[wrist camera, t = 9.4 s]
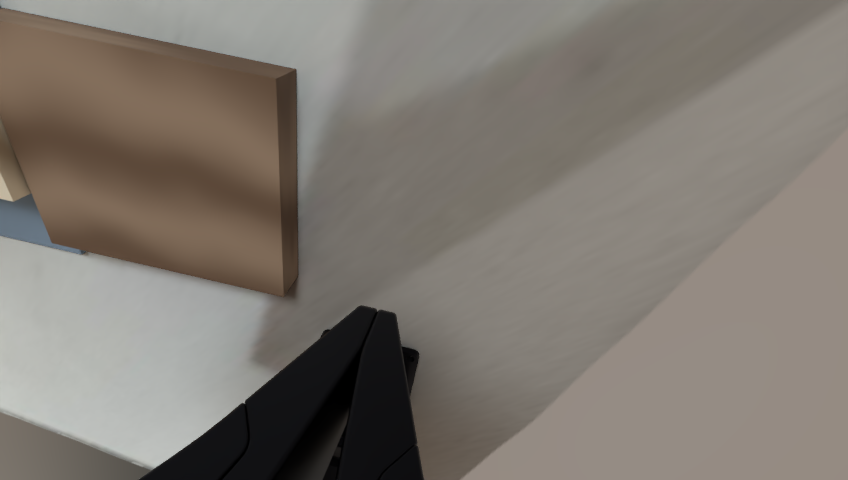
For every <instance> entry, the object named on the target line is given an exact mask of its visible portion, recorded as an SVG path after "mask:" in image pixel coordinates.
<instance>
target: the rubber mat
mask: <svg viewBox="0 0 848 480" xmlns="http://www.w3.org/2000/svg"><path fill="white" fill-rule="evenodd" d="M0 9H1V8H0ZM0 236H5V237H9V238H13V239H17V240H22V241H26V242H30V243H35V244H39V245H43V246H48V247H52V248H56V249H60V250H65V251H69V252H73V253H78V254H83V253H85V252H86V251H83V250H79V249H75V248H70V247H66V246H62V245H58V244H53V243H52V242H51V240H50V237H49V235H48V233H47V230H46V228H45V225H44V223H43V220H42V218H41V215H40V213H39V211H38V208H37V206H36V203H35V201H34V198H33V196H32V193H31V194H29V195H27V196H25V197H22V198H20V199H18V200H16V201H14V202H12V201H8V200H4V199H0Z"/></svg>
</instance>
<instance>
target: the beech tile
mask: <svg viewBox="0 0 848 480" xmlns="http://www.w3.org/2000/svg"><path fill="white" fill-rule="evenodd" d="M29 194H31V191H30V189H29V186H28V184H27V181H26V179H25V176H24V174H23V171H22V169H21V167H20V164H19V162H18V159H17V157H16V154H15V152H14V149H13V147H12V144H11V142H10V140H9V137H8V135H7V132H6V130H5V127H4V125H3V122H2V120H1V118H0V199H4V200H8V201H12V202H14V201H16V200H18V199H20V198H22V197H25V196H27V195H29Z"/></svg>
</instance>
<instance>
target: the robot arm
mask: <svg viewBox="0 0 848 480" xmlns="http://www.w3.org/2000/svg"><path fill="white" fill-rule="evenodd" d="M410 356H412V357H410ZM418 359H419V353H418V352H417V351H416V350H414V349H410V348H406V347H402V346H401V341H400V335H399V329H398V323H397V317H396V314H395V313H393V312H388V311H384V310H379V311H378V312H377V310H376V309H375V308H371V307H367V306H359V307H357V308H356V309H355V310H354V311H353V312H351V313H350V314H349V315H348V316H347V317H345V318H344V319H343V320H342V321H341V322H339V323H338V324H337V325H336V326H334V327H333V328H332V329H331V330H325V331H323V333H322V335H321V338H320V339H319V340H318V341H316V342H315V343H314V344H313V345H312V346H310V347H309V348H308V349H307V350H306V351H304V352H303V353H302V354H301V355H300V356H298V357H297V358H296V359H295V360H294V361H292V362H291V363H290V364H289V365H288V366H286V367H285V368H284V369H283V370H281V371H280V372H279V373H278V374H277V375H275V376H274V377H273V378H272V379H271V380H269V381H268V382H267V383H266V384H265V385H263V386H262V387H261V388H260V389H259V390H257V391H256V392H255V393H254V394H253V395H251V396H250V397H249V398H248V399H247V400H246V401H245V404H244V403H242V404H240V405H239V406H238V407H237V408H235V409H234V410H233V411H232V412H231V413H230V414H228V415H227V416H226V417H225V418H223V419H222V420H221V421H220V422H218V423H217V424H216V425H214V426H213V427H212V428H211V429H209V430H208V431H207V432H206V433H204V434H203V435H202V436H200V437H199V438H198V439H196V440H195V441H193V442H192V443H191V444H189V445H188V446H186V447H185V448H184V449H182V450H181V451H179V452H178V453H176V454H175V455H174V456H172V457H171V458H169V459H168V460H166V461H165V462H163V463H162V464H161V465H159V466H158V467H156V468H155V469H153V470H152V471H151V472H149V473H147V474H146V475H144V476H143V477H142V478H140V479H139V480H424V477H423V472H422V467H421V461H420V455H419V449H418V446H417V438H416V432H415V426H414V420H413V414H412V408H411V402H410V394H411V390H412V385H413V381H414V377H415V372H416V368H417V364H418Z"/></svg>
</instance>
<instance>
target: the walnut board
mask: <svg viewBox="0 0 848 480" xmlns="http://www.w3.org/2000/svg"><path fill="white" fill-rule="evenodd" d="M0 118H1V120H2V122H3V125H4V127H5V130H6V132H7V135H8V137H9V140H10V142H11V144H12V147H13V149H14V152H15V154H16V157H17V159H18V162H19V164H20V167H21V169H22V171H23V174H24V176H25V179H26V181H27V184H28V186H29V189H30V191H31V193H32V196H33V198H34V201H35V203H36V206H37V208H38V211H39V213H40V215H41V218H42V220H43V223H44V225H45V228H46V230H47V233H48V235H49V237H50V240H51V242H52V243H53V244H58V245H62V246H66V247H70V248H75V249H79V250H83V251H88V252H92V253H96V254H101V255H105V256H109V257H113V258H118V259H122V260H126V261H131V262H135V263H139V264H144V265H148V266H152V267H156V268H161V269H165V270H169V271H174V272H178V273H182V274H187V275H191V276H195V277H199V278H204V279H208V280H212V281H217V282H221V283H225V284H230V285H234V286H238V287H242V288H247V289H251V290H255V291H260V292H264V293H268V294H273V295H277V296H281V297H284V296H285V294H286V293H287V291H288V290H289V288H290V287H291V285H292V284H293V282H294V281H295V279H296V278H297V276H298V225H297V115H296V69H292V68H287V67H282V66H278V65H273V64H268V63H263V62H259V61H254V60H249V59H244V58H239V57H235V56H230V55H225V54H220V53H216V52H211V51H206V50H201V49H196V48H192V47H187V46H182V45H177V44H173V43H168V42H163V41H158V40H153V39H149V38H144V37H139V36H134V35H129V34H125V33H120V32H115V31H110V30H106V29H101V28H96V27H91V26H86V25H82V24H77V23H72V22H67V21H63V20H58V19H53V18H48V17H43V16H39V15H34V14H29V13H24V12H20V11H15V10H10V9H5V8H1V9H0Z"/></svg>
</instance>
